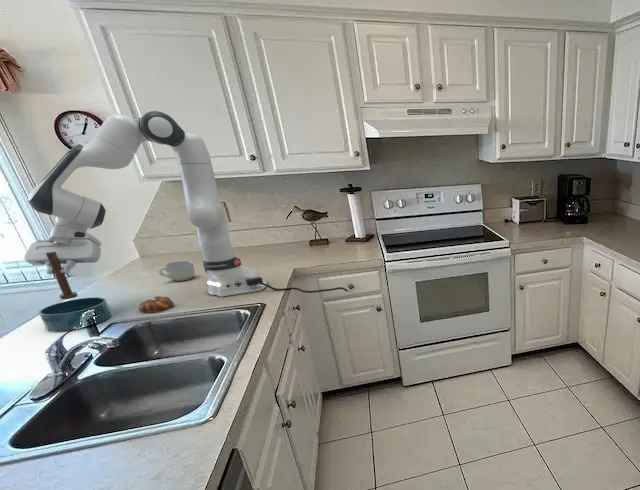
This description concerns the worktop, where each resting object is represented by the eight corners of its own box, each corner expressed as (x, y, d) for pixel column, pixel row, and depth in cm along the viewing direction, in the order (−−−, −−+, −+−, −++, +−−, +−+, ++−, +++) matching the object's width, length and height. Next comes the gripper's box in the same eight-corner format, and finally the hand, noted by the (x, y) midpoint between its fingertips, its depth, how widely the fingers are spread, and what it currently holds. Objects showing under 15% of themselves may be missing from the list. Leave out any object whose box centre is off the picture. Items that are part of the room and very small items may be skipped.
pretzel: (141, 306, 163) (138, 297, 162) (175, 300, 169) (172, 292, 168) (138, 316, 154) (134, 306, 153) (174, 309, 160) (171, 300, 159)
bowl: (120, 310, 159) (114, 295, 157) (98, 328, 144) (91, 311, 142) (64, 316, 154) (57, 300, 151) (34, 335, 139) (26, 317, 136)
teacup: (193, 274, 203) (188, 258, 200) (200, 278, 197) (195, 262, 194) (158, 281, 193) (153, 264, 190) (165, 285, 187) (159, 269, 184)
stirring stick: (80, 294, 148) (62, 250, 142) (73, 298, 144) (54, 253, 138) (64, 296, 146) (46, 251, 140) (57, 300, 143) (37, 254, 136)
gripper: (24, 235, 142) (12, 270, 136) (94, 233, 146) (85, 267, 140) (40, 245, 147) (29, 279, 142) (106, 242, 151) (98, 276, 146)
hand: (57, 273), depth 141 cm, fingers closed on stirring stick, 2 cm apart
